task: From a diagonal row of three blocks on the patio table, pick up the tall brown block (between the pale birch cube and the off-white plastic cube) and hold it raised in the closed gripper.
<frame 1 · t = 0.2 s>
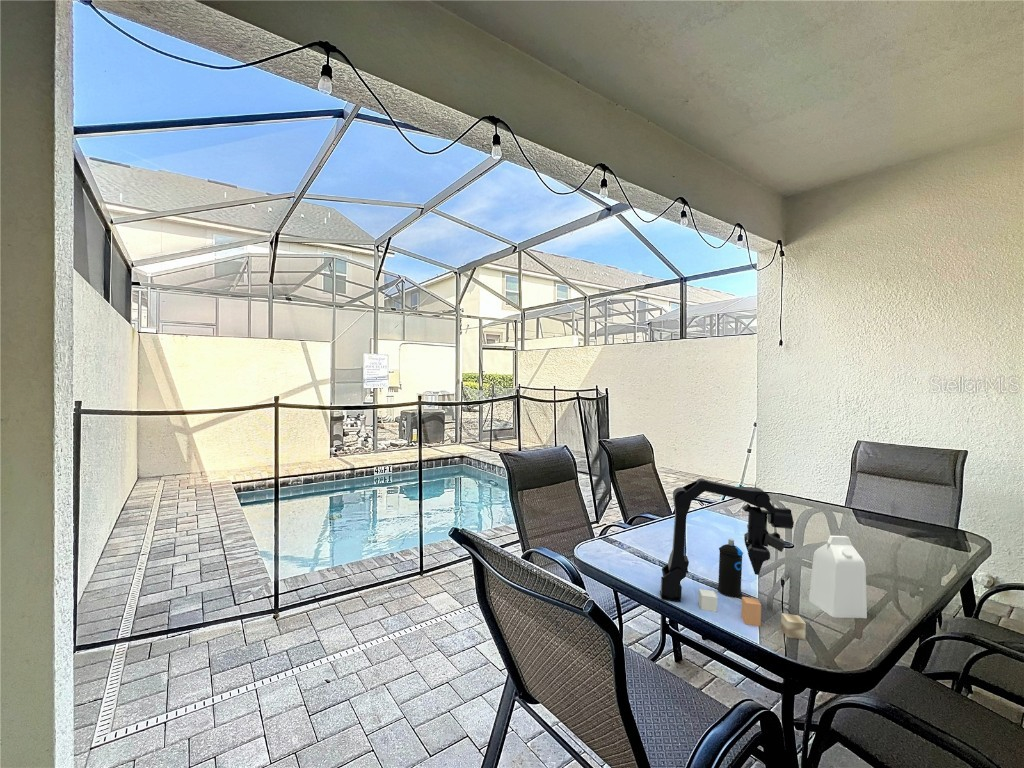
hand: (755, 569, 149), 14 cm above the table, tool pointing down, fingers open, 9 cm apart
aerosol can: (729, 592, 162), on the table
birch cube: (792, 634, 135), on the table
brown block: (750, 621, 142), on the table
off-white cube: (707, 607, 150), on the table
milk: (836, 609, 153), on the table
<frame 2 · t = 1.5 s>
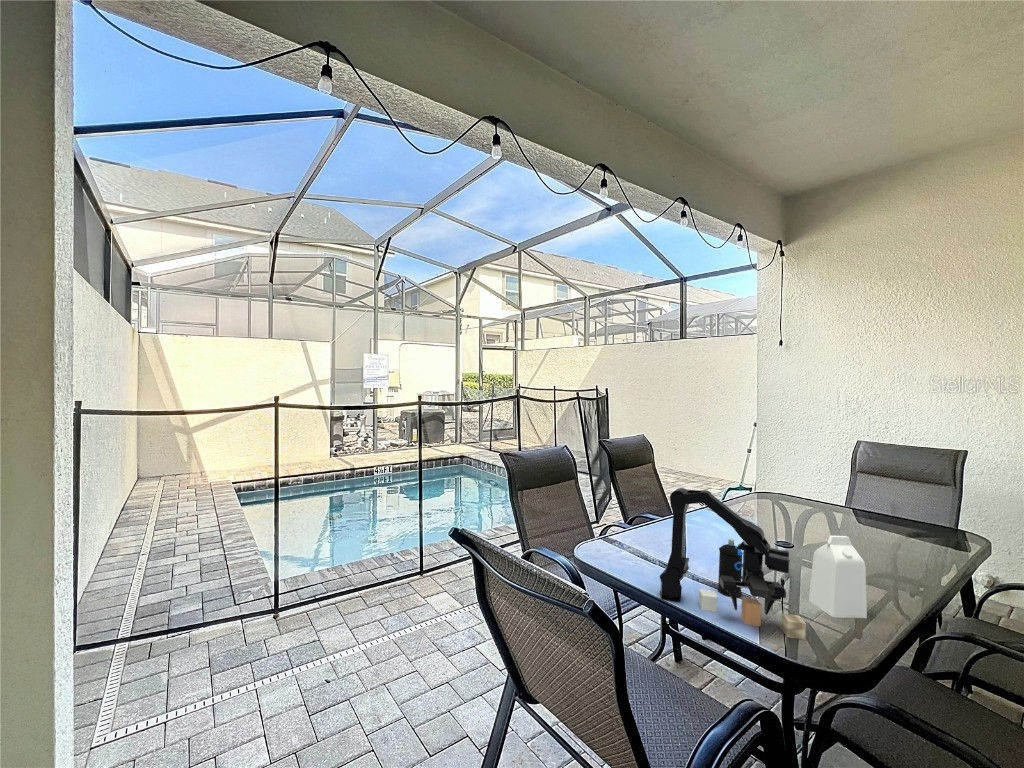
hand: (750, 612, 142), 3 cm above the table, tool pointing down, fingers open, 9 cm apart
nothing on the table moved.
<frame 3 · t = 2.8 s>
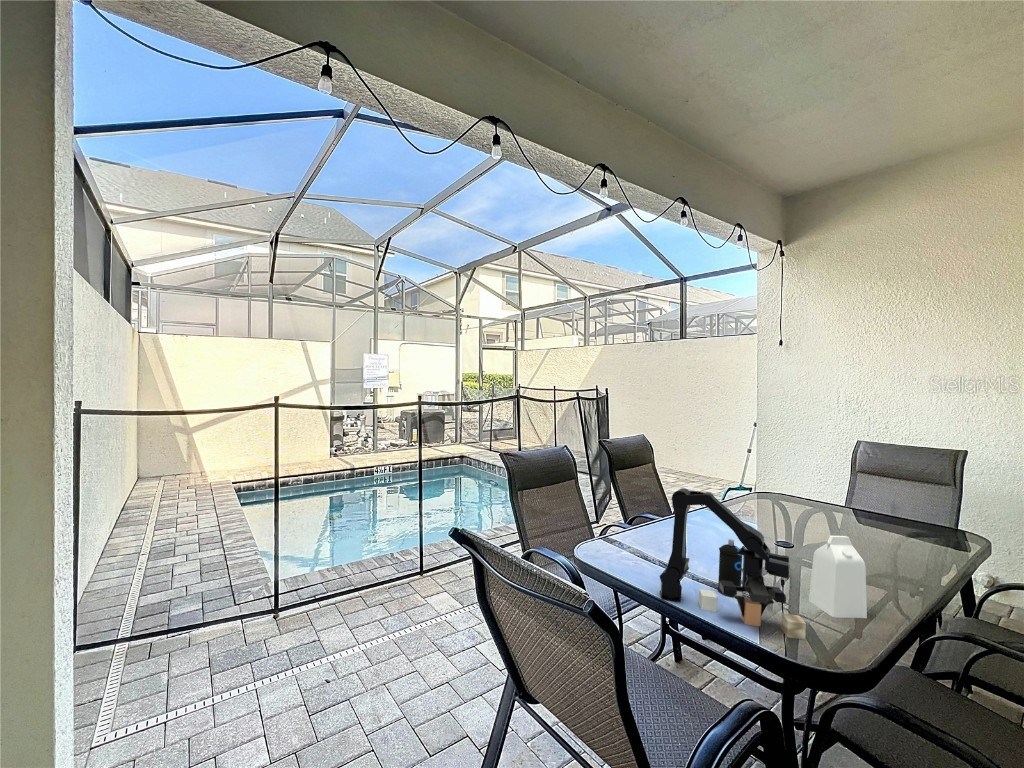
hand: (750, 617, 142), 2 cm above the table, tool pointing down, fingers closed on brown block, 4 cm apart
brown block: (750, 621, 142), on the table, touching gripper
everything else where it was.
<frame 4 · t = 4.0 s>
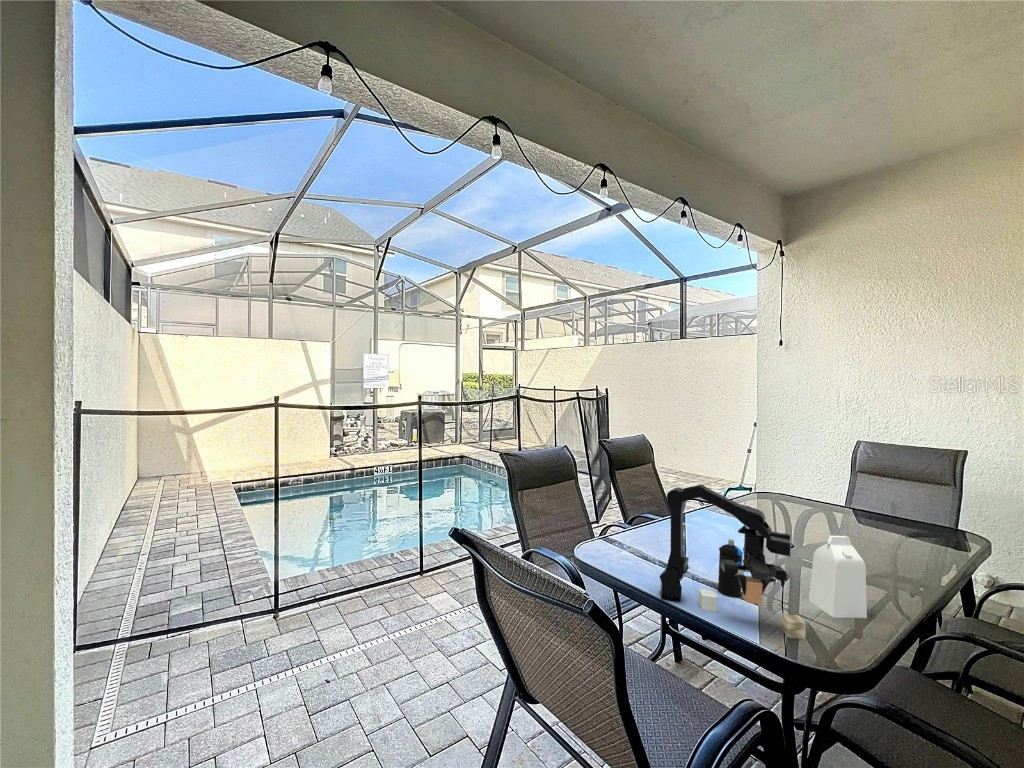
hand: (752, 595, 142), 9 cm above the table, tool pointing down, fingers closed on brown block, 4 cm apart
brown block: (751, 600, 142), point 7 cm above the table, touching gripper
everything else where it was.
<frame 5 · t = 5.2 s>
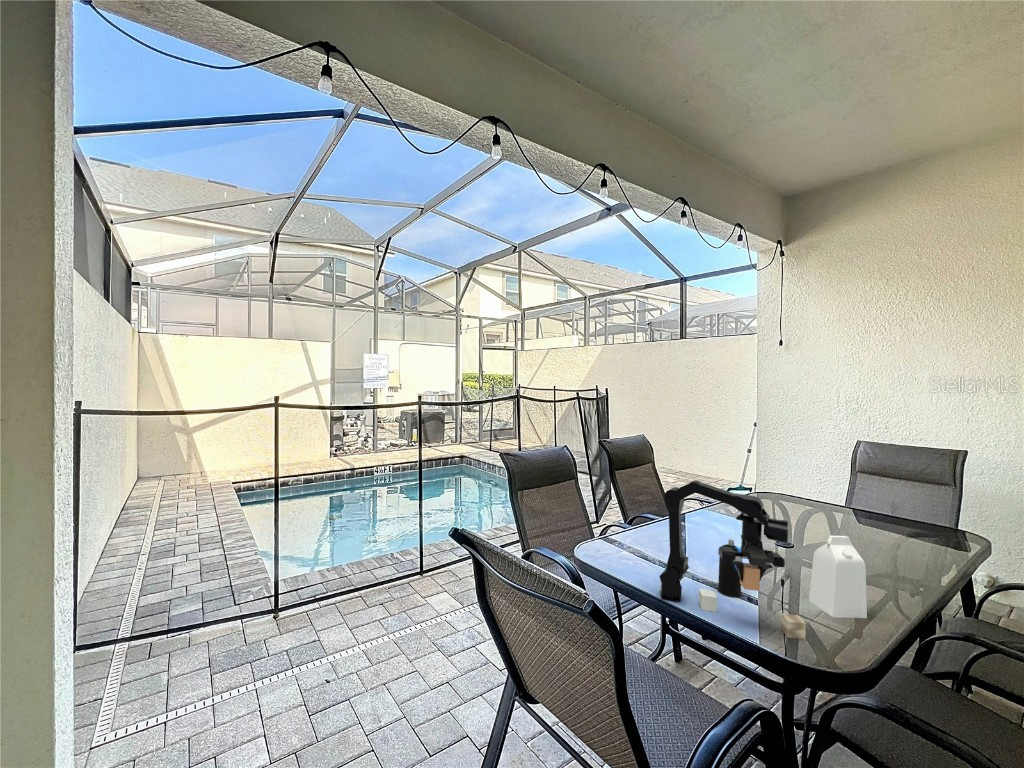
hand: (749, 582, 142), 13 cm above the table, tool pointing down, fingers closed on brown block, 4 cm apart
brown block: (749, 586, 142), point 11 cm above the table, touching gripper
everything else where it was.
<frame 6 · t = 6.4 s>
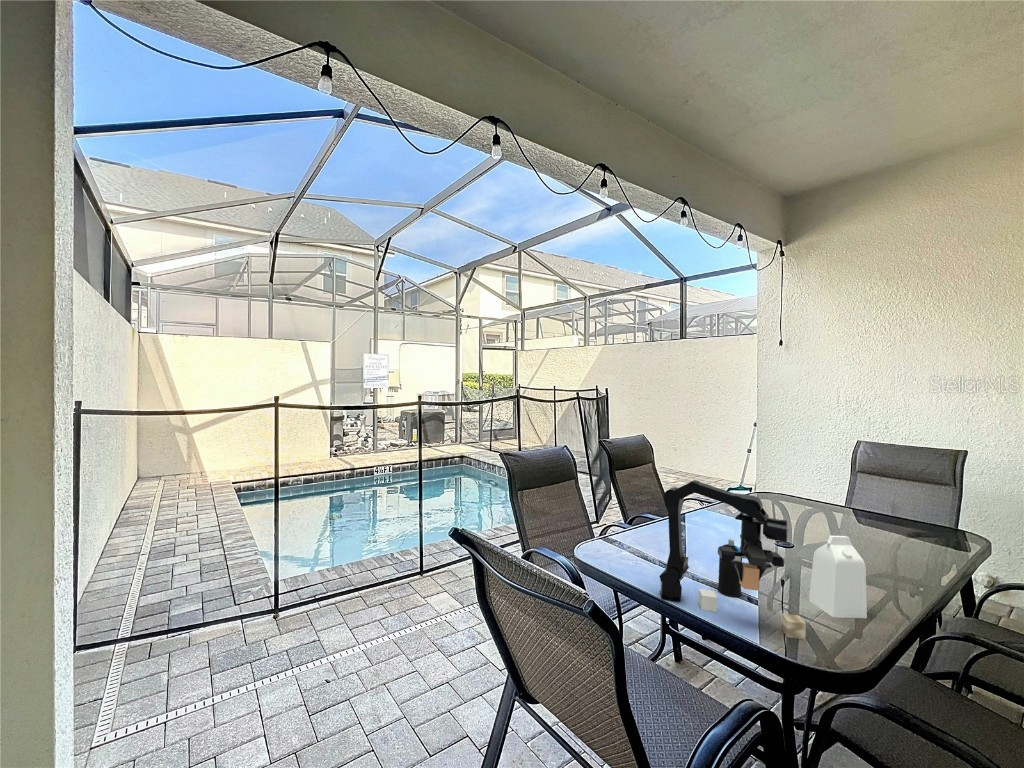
hand: (748, 581, 142), 13 cm above the table, tool pointing down, fingers closed on brown block, 4 cm apart
brown block: (748, 586, 142), point 11 cm above the table, touching gripper
everything else where it was.
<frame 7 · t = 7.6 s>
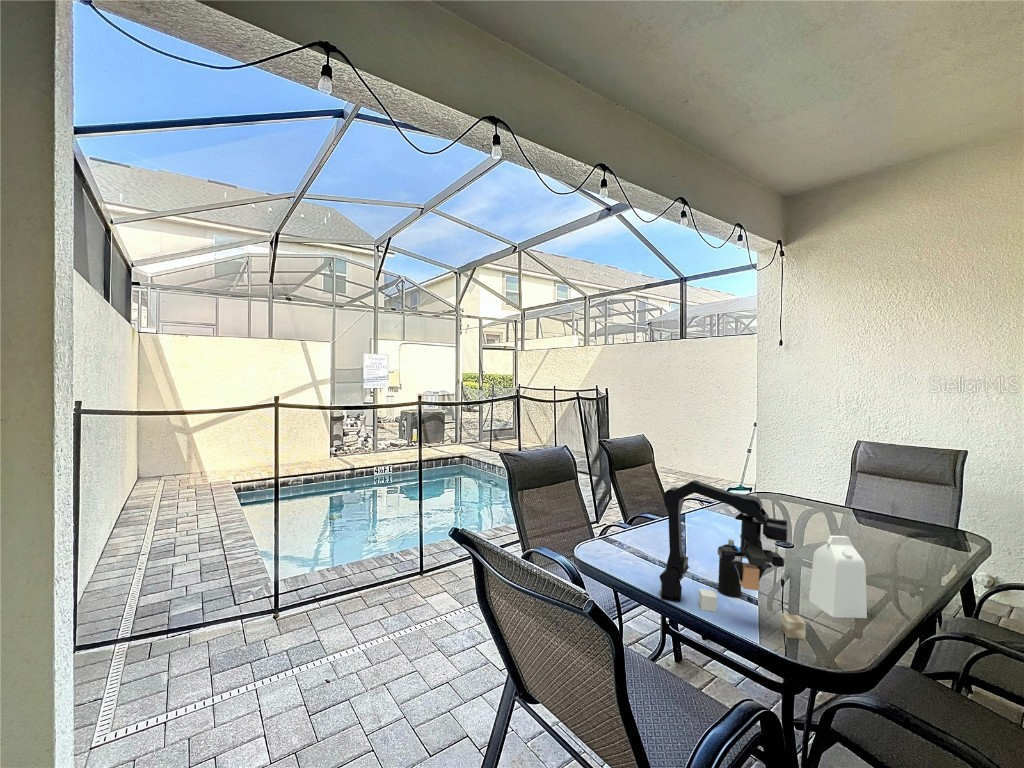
hand: (748, 581, 142), 13 cm above the table, tool pointing down, fingers closed on brown block, 4 cm apart
brown block: (748, 586, 142), point 11 cm above the table, touching gripper
everything else where it was.
at the end: the gripper is holding brown block; brown block point 11.4 cm above the table; birch cube moved 0.1 cm from its start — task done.
